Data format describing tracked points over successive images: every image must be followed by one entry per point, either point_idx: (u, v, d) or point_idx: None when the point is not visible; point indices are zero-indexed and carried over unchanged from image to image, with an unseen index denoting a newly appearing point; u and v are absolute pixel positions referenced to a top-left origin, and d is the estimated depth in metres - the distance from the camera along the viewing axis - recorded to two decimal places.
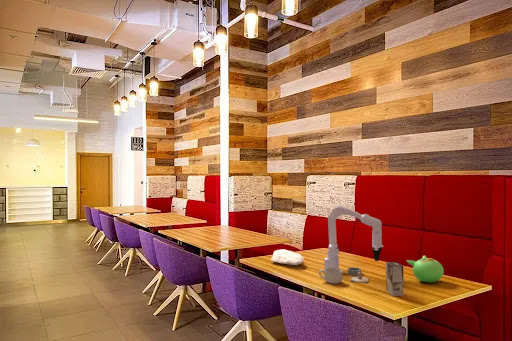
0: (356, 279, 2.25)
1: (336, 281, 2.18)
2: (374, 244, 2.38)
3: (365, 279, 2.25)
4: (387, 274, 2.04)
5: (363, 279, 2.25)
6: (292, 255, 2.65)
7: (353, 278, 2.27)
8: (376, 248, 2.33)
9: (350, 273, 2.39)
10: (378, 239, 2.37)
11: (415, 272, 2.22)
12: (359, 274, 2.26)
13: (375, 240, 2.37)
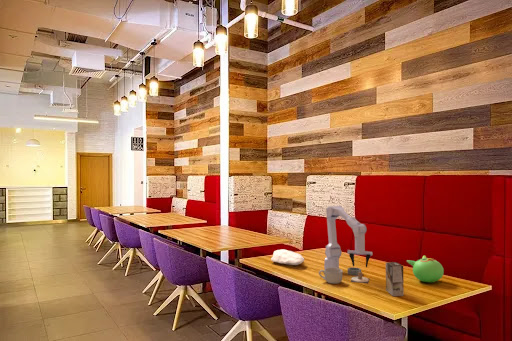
0: (356, 279, 2.25)
1: (336, 281, 2.18)
2: None
3: (365, 279, 2.25)
4: (387, 274, 2.04)
5: (363, 279, 2.25)
6: (292, 255, 2.65)
7: (353, 278, 2.27)
8: None
9: (350, 273, 2.39)
10: (355, 244, 2.27)
11: (415, 272, 2.22)
12: (359, 274, 2.26)
13: None
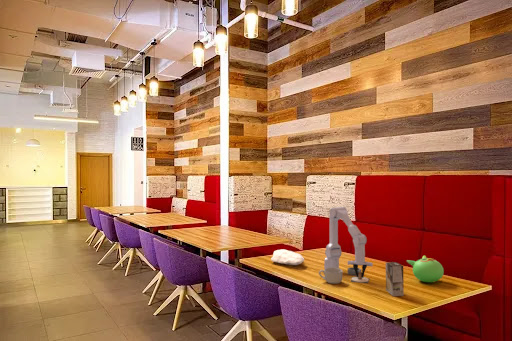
0: (356, 279, 2.25)
1: (336, 281, 2.18)
2: None
3: (365, 279, 2.25)
4: (387, 274, 2.04)
5: (363, 279, 2.25)
6: (292, 255, 2.65)
7: (353, 278, 2.28)
8: None
9: (350, 273, 2.39)
10: (355, 255, 2.27)
11: (415, 272, 2.22)
12: (359, 274, 2.26)
13: None
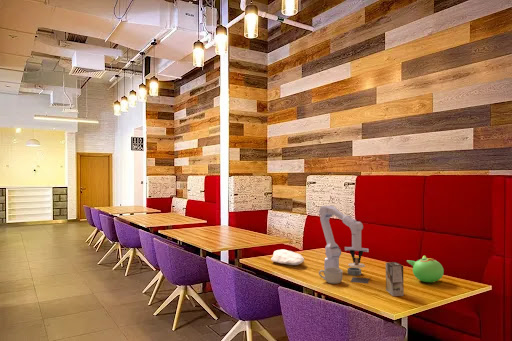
0: (353, 265, 2.33)
1: (336, 281, 2.18)
2: None
3: (362, 265, 2.33)
4: (387, 274, 2.04)
5: (359, 265, 2.33)
6: (292, 255, 2.65)
7: (350, 264, 2.35)
8: None
9: (350, 273, 2.39)
10: (352, 241, 2.35)
11: (415, 272, 2.22)
12: (356, 260, 2.34)
13: None
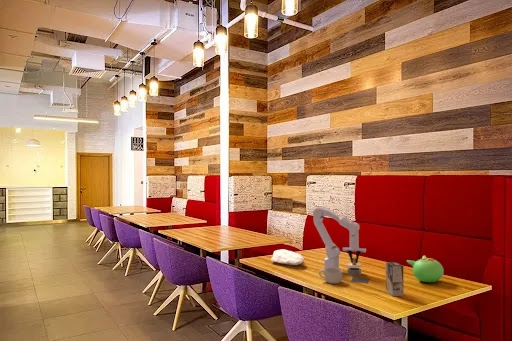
0: (351, 264, 2.40)
1: (336, 281, 2.18)
2: None
3: (359, 264, 2.40)
4: (387, 274, 2.04)
5: (357, 264, 2.40)
6: (292, 255, 2.65)
7: (348, 264, 2.42)
8: None
9: (350, 273, 2.39)
10: None
11: (415, 272, 2.22)
12: (353, 260, 2.40)
13: None
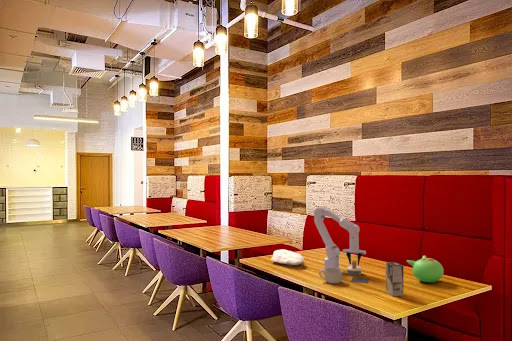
0: (351, 268, 2.40)
1: (336, 281, 2.18)
2: None
3: (359, 268, 2.40)
4: (387, 274, 2.04)
5: (357, 268, 2.40)
6: (292, 255, 2.65)
7: (348, 267, 2.42)
8: None
9: (350, 273, 2.39)
10: None
11: (415, 272, 2.22)
12: (353, 263, 2.40)
13: None
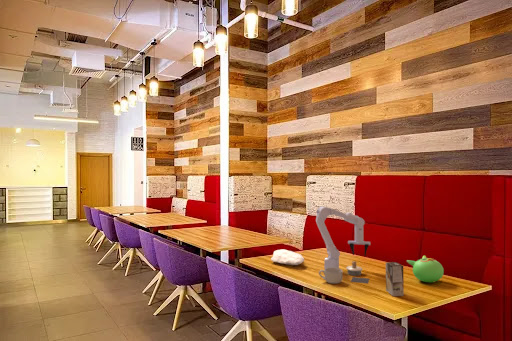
0: (351, 268, 2.40)
1: (336, 281, 2.18)
2: None
3: (359, 268, 2.40)
4: (387, 274, 2.04)
5: (357, 268, 2.40)
6: (292, 255, 2.65)
7: (348, 267, 2.42)
8: (348, 242, 2.54)
9: (350, 273, 2.39)
10: None
11: (415, 272, 2.22)
12: (353, 263, 2.40)
13: None
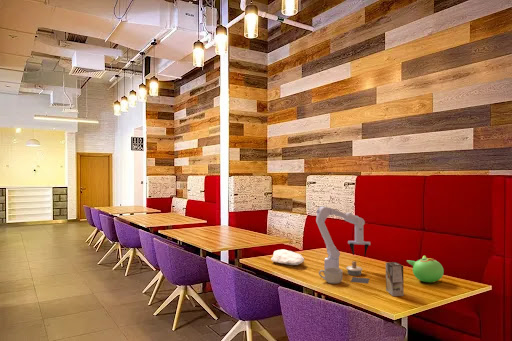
0: (351, 268, 2.40)
1: (336, 281, 2.18)
2: None
3: (359, 268, 2.40)
4: (387, 274, 2.04)
5: (357, 268, 2.40)
6: (292, 255, 2.65)
7: (348, 267, 2.42)
8: (348, 242, 2.54)
9: (350, 273, 2.39)
10: (355, 235, 2.51)
11: (415, 272, 2.22)
12: (353, 263, 2.40)
13: None
